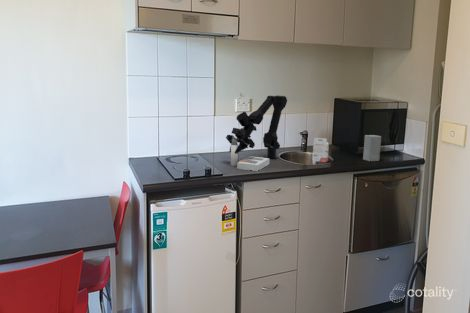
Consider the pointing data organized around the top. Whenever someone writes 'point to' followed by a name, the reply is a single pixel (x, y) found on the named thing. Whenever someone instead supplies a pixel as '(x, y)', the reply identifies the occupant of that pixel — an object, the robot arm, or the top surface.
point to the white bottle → (234, 156)
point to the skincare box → (372, 148)
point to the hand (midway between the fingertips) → (232, 152)
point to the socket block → (253, 163)
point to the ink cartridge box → (320, 150)
